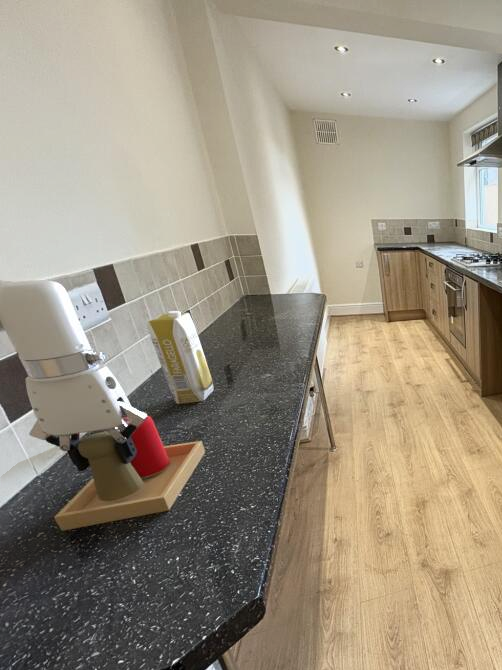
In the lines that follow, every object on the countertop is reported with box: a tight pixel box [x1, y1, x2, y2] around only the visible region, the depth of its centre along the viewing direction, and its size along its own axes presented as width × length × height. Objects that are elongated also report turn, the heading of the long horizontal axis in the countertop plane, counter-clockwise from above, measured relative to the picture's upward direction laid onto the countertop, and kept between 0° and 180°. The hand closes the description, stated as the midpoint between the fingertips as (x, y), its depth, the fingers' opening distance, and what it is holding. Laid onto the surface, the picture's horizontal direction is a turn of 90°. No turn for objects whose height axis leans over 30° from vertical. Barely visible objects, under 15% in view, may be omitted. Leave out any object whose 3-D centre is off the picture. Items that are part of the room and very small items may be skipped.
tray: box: [53, 440, 206, 532], centre depth 76 cm, size 15×20×3 cm
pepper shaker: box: [78, 431, 144, 501], centre depth 70 cm, size 6×6×11 cm
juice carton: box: [146, 310, 215, 405], centre depth 108 cm, size 9×8×24 cm
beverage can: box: [122, 410, 170, 479], centre depth 78 cm, size 6×6×12 cm
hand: (108, 462), depth 70 cm, fingers closed on pepper shaker, 5 cm apart
